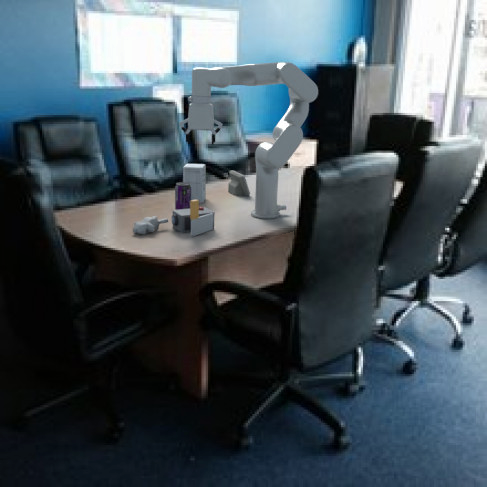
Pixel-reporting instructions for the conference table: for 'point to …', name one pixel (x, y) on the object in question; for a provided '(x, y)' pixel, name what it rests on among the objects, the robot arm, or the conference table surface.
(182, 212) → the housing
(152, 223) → the bunny figurine
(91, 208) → the conference table surface
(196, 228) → the door
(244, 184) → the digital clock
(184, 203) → the beverage can
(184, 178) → the supplement box
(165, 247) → the conference table surface
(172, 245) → the conference table surface
